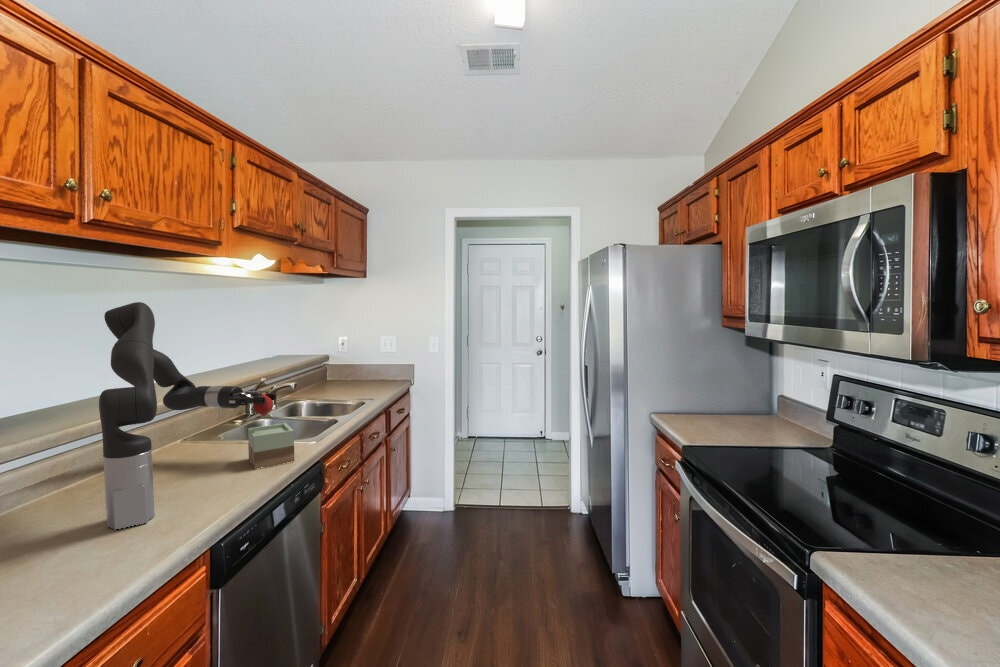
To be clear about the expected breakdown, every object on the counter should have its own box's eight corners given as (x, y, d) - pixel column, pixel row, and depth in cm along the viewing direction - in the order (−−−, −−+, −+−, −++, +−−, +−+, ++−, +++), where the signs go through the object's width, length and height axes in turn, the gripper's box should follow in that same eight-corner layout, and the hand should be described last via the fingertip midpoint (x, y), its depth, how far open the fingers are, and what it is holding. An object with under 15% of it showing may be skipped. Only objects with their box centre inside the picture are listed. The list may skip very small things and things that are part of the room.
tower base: (294, 462, 154) (294, 445, 154) (255, 470, 147) (254, 452, 147) (286, 453, 164) (285, 437, 163) (248, 460, 156) (248, 443, 156)
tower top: (293, 445, 154) (293, 430, 154) (254, 452, 147) (253, 436, 146) (286, 437, 163) (285, 423, 163) (248, 443, 156) (248, 428, 156)
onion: (265, 418, 150) (264, 394, 150) (249, 417, 151) (249, 393, 151) (276, 414, 156) (276, 391, 155) (262, 413, 157) (261, 390, 157)
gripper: (208, 390, 147) (256, 391, 146) (238, 382, 162) (282, 384, 160) (208, 412, 148) (257, 414, 146) (238, 403, 162) (283, 404, 160)
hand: (270, 398), depth 153 cm, fingers closed on onion, 5 cm apart
